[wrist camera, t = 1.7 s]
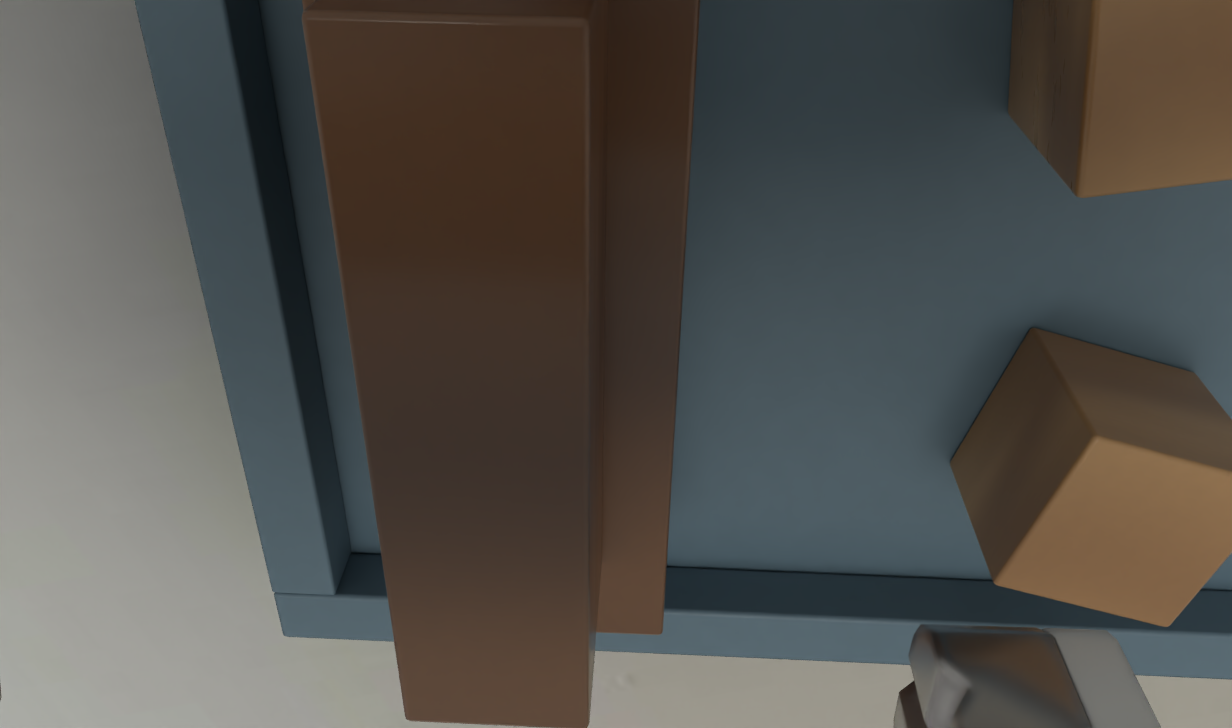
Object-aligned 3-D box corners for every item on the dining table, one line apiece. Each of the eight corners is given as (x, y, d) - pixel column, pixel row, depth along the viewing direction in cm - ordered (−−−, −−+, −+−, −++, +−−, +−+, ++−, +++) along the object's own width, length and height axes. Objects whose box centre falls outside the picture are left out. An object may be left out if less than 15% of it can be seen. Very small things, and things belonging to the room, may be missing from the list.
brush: (347, -240, 13) (131, -202, 8) (704, -233, 12) (728, -188, 7) (428, 503, 19) (342, 790, 14) (663, 513, 19) (661, 806, 14)
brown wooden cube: (1030, 324, 16) (1095, 436, 14) (1196, 371, 17) (1290, 488, 14) (947, 463, 18) (992, 587, 16) (1100, 503, 18) (1169, 630, 16)
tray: (108, -494, 12) (8, -529, 10) (2028, -465, 12) (2291, -500, 10) (315, 557, 21) (281, 639, 20) (1385, 603, 21) (1455, 691, 19)
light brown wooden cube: (1016, -110, 13) (1099, -65, 10) (1266, -149, 13) (1415, -113, 10) (1005, 116, 15) (1075, 202, 12) (1227, 87, 14) (1346, 168, 12)
